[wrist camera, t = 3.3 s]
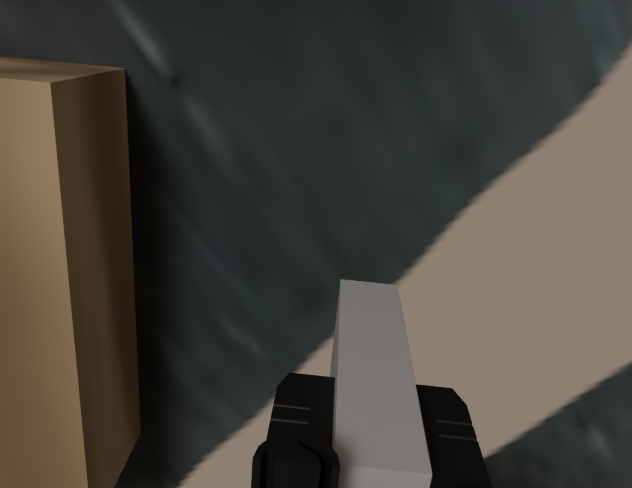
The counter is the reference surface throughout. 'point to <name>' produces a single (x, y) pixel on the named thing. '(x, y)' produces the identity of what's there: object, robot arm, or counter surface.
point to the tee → (65, 277)
